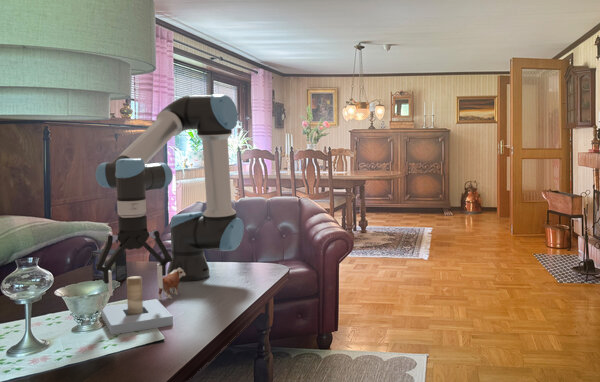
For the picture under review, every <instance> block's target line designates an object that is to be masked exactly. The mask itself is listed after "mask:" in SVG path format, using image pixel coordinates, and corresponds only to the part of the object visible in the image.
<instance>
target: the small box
mask: <svg viewBox="0 0 600 382" xmlns="http://www.w3.org/2000/svg"><path fill="white" fill-rule="evenodd" d="M116 249H117V248H111V249H110V251H109V253H108V255H107V258H106V260H105V262H104V264H103V266H104V265H105V264H106V262H107V261H108V260H109V258H110V257H111V256H112V255H113V253H114V252H115V251H116ZM102 251H103V248H100V249H96V250H94V251H91V261H92V279H93V278H95V279H103V271H98V270H97V269H96V267H95V266H96V264H97V262H98V260H99V257H100V255H101V253H102ZM127 266H128V265H127V249H125V251H124V252H122V254H121V255H120V256H119V258H118V259H117V260H116V262H115V263H114V264H113V265H112V267H111V268H110V269H109V270H110V271H111V272H112V280H116V281H120V282H122V281H124V280H127V278H128V273H127V272H128V270H127V268H128V267H127Z"/></svg>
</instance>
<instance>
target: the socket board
mask: <svg viewBox="0 0 600 382" xmlns="http://www.w3.org/2000/svg"><path fill="white" fill-rule="evenodd" d="M100 316H101V318H102V320H103V322H104V321H105V322H104V324H105V323H106V324H105V325H107V326H106V327H107V329H108V331H109V333H110V335H111V336H113V335H114V336H115V335H120V333H121V334H125V333H133V332H139V331H144V330H150V329H156V328H158V329H159V328H162V327H163V328H165V327H169V326H174V316H173V314H171V313H170V312H169V311H168V309H167V308H166V307H165V306H164V305H163V304H162V303H161V301H160V300H159V299H157V298H155V299H149V300H148V299H147V300H143V314H137V315H130V316H128V302H127V303H119V304H112V305H105V308H104V309H103V310H102V311H101V310H100Z"/></svg>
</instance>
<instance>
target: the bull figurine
mask: <svg viewBox="0 0 600 382" xmlns="http://www.w3.org/2000/svg"><path fill="white" fill-rule="evenodd" d="M185 275H186V274H185V273H184V271H183V270H182V269H181V268H178V269H174V270H173V271H172V272H171V273H169V274H168V275H165V276H162V278H163V288H161V289H160V288H159V287H158V296H159V297H158V301H162V300H163V298H162V293H164V295H165V297H167V298H168V299H169V300H170V299H171V300H173V297H172V295H171V294H174V295H175V296H178V295H179V294H178V288H179V284H180V281H179V279H180V278H181V277H182V276H185ZM173 289H174V290H173Z"/></svg>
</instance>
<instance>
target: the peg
mask: <svg viewBox="0 0 600 382" xmlns="http://www.w3.org/2000/svg"><path fill="white" fill-rule="evenodd" d="M126 293H127V295H126V296H127V297H126V298H127V303H128V316H130V315H137V314H143V301H144V300H143V299H144V298H143V278H142V276H140V275H138V276H137V275H136V276H135V275H134V276H129V277H128V276H127V279H126Z"/></svg>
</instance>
